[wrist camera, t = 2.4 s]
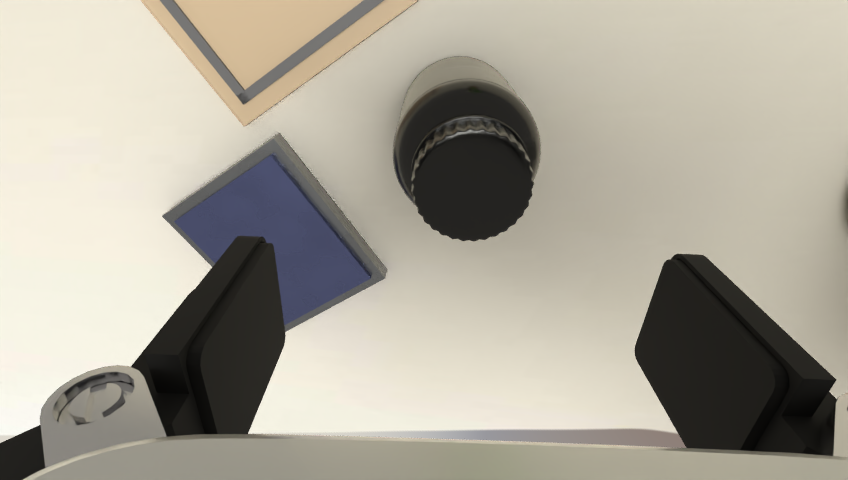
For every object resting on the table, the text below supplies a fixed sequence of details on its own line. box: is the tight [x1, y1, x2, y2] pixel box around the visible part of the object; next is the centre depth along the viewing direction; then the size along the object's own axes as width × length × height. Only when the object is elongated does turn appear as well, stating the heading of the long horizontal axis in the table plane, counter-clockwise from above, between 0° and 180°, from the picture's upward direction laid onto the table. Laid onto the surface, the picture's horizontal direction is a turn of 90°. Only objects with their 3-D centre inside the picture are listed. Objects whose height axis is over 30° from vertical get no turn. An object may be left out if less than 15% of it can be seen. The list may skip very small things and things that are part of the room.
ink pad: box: [162, 133, 387, 332], centre depth 32 cm, size 12×10×2 cm
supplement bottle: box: [393, 57, 541, 241], centre depth 23 cm, size 7×7×12 cm
